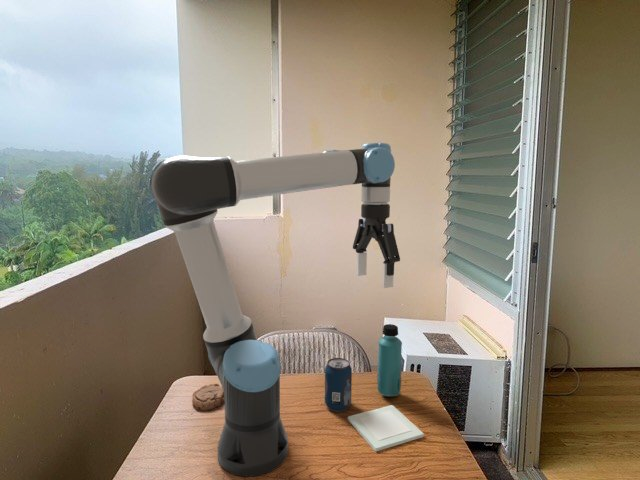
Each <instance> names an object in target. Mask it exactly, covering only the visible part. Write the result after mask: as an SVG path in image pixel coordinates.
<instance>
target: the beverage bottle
mask: <svg viewBox="0 0 640 480" xmlns="http://www.w3.org/2000/svg"><path fill="white" fill-rule="evenodd" d="M382 334H383V335H384V336H382V337H380V338H379V340H378V351H377V352H378V353H377V354H378V355H377V357H378V358H377V368H376V369H377V374H376V376H377V382H376V385H377V391H378V393H380V395H382V396H386V397H396V396H398V395H399V394H401V390H402V388H401V387H402V370H403V369H402V359H403V358H402V350H403V349H402V348H403V347H402V346H403V342H402V341H401V339H400V338H398V337H397V336H399V327H398V326H397V325H395V324H391V323H388V324H384V325H383V326H382Z"/></svg>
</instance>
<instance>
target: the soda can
mask: <svg viewBox="0 0 640 480" xmlns="http://www.w3.org/2000/svg"><path fill="white" fill-rule="evenodd" d="M350 364H351V363H350V361H349V360H348V359H346V358H342V357H333V358H330V359H329V360H328V361H327V363H326V366H325V367H324V403H325V405H326V407H327V409H329V410H330V411H332V412H337V413H339V412H345V411H346V410H348V409H349V407H350V406H351V405H352V384H353V383H352V375H353V368H352V366H351V365H350Z"/></svg>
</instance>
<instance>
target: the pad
mask: <svg viewBox="0 0 640 480" xmlns="http://www.w3.org/2000/svg"><path fill="white" fill-rule="evenodd" d="M347 421H348V422H349V423H350V424H351V425H352V426H353V427H354V429H355V430H356V431H357V432H358V434H359V435H360V436H361V437H362V438H363V439H364V440H365V441H366V442H367V444H368V445H369V446H370V447H371V449H372V450H373V451H374V452H375V453H376V452H380V451H383V450H386V449H389V448H392V447H395V446H398V445H401V444H406V443H408V442H411V441H415V440H419V439H421V438H424V437H425V434H424V432H423V431H421V429H419V428H418V427H417V426H416V425H415V424H414V423H413V422H411V421H410V420H409V419H408V418H407V417H406V416H405V415H404V414H403V413H402V412H401V411H400V410H399V409H398V408H396V407H395V406H394V405H392V404H391V405H387V406H383V407H379V408H376V409H372V410H367V411H363V412H361V413H360V412H359V413H356V414H352V415H348V416H347Z"/></svg>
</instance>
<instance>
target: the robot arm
mask: <svg viewBox="0 0 640 480" xmlns="http://www.w3.org/2000/svg"><path fill="white" fill-rule="evenodd" d="M395 166H396V163H395V157H394V155H393V154H392V148H391V145H390V144H388V143H385V142H369V143H368V142H367V143H364V144H362V146H361V148H355V149H346V150H341V149H340V150H337V149H332V150H323V151H322V152H316V153H315V152H314V153H313V152H312V153H305V154H295V155H294V154H293V155H287V156H286V155H285V156H273V157H264V158H253V159H241V160H234V159H233V158H231V157H230V156H229V155H228V156H215V157H213V156H212V157H211V156H210V157H209V156H208V157H206V156H205V157H204V156H192V155H176V156H169V158H165V159H162V160H161V161H160V162H159V163H158V164H156V165H155V167H154V168H153V170H152V172H151V174H150V177H149V189H150V192H151V195H152V197H153V198H154V200H155V203H156V205H157V208H158V212H159V214H160V216H161V219H162V223H163V226H164V227H165V228H166V229H169V230H171V231H172V232H173V233H174V235H175V237H176V240H177V244H178V245H179V249H180V252H181V255H182V258H183V261H184V263H185V266H186V270H187V272H188V273H187V274H189V275H188V276H189V279H190V282H191V284H192V287H193V289H194V290H193V291H194V293H195V297H196V299H197V301H198V305H199V307H200V311H201V313H202V317H203V320H204V323H205V325H206V328H205V330H204V332H203V335H202V338H203V340H204V343H205V346H206V349H207V356H208V360H209V362H210V364H211V366H212V367H213V370H214V372H215V374H216V375H217V377H218V381H219V382H220V386H222V387H223V390H224V401H223V403H224V424H223V428H222V431H221V434H220V436H219V439H218V444H217V461H218V463H219V464H220V465H219V466H220V467H221V468H222V469H224V471H226V472H228V473H229V474H233V475H234V476H238V477H257V476H262V475H265V474H267V473H271V472H272V471H274V470H276V469H277V468H279V467H280V466H281V465H283V463H284V462H285V460H286V459H287V457H288V454H289V438H288V435H287V432H286V430H285V426H284V424H283V420H282V419H281V411H280V410H281V402H280V401H281V396H280V395H281V386H280V385H281V384H280V383H281V362H280V356H279V353H278V351H277V349H276V347H274V346H273V345H271V344H270V343H268V342H263V341H262V340H259V339H258V338H257V335H256V332H255V329H254V325H253V322H252V319H251V318H250V317H249V316H246V315H244V314H243V312H242V308H241V305H240V302H239V298H238V296H237V293H236V289H235V286H234V283H233V280H232V276H231V272H230V269H229V267H228V263H227V260H226V257H225V254H224V251H223V247H222V244H221V240H220V238H219V234H218V231H217V228H216V225H215V222H214V220H215V218H216V216H217V214H218V210H220V209H224V208H231V207H236V206H237V205H238V204H239V202H240V201H243V200H244V201H245V200H250V199H257V198H264V197H271V196H272V197H273V196H279V195H286V194H294V193H301V192H307V191H315V190H322V189H329V188H336V187H343V186H350V185H359V184H360V185H361V196H360V198H361V202H362V204H361V206H360V207H361V209H360V210H361V213H360V217H362V218H359V219H358V225H357V229H356V233H355V236H354V241H353V244H352V249H353V250H355V252H356V276H357V277H359V276H360V277H361V276H367V260H368V253H367V252H368V251H367V248H368V246H369V245H370V242H371V241H372V239H374V240H375V241H376V242H377V244H378V246H379V249H380V251H381V254H382V256H383V257H382V258H383V259H384V260H383V262H382V288H383V289H386V288H387V289H388V288H393V287H394V275H395V263H397V262H400V261H401V256H400V251H399V248H398V244H397V240H396V236H395V231H394V230H395V229H394V224H393V223H387V222H386V220H387V219H389V218H390V217H391V214H390V212H391V209H390V208H391V205H390V204H389V202H390V201H391V179H392V178H391V177H392V175H393V174H394V171H395V168H396V167H395Z"/></svg>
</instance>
